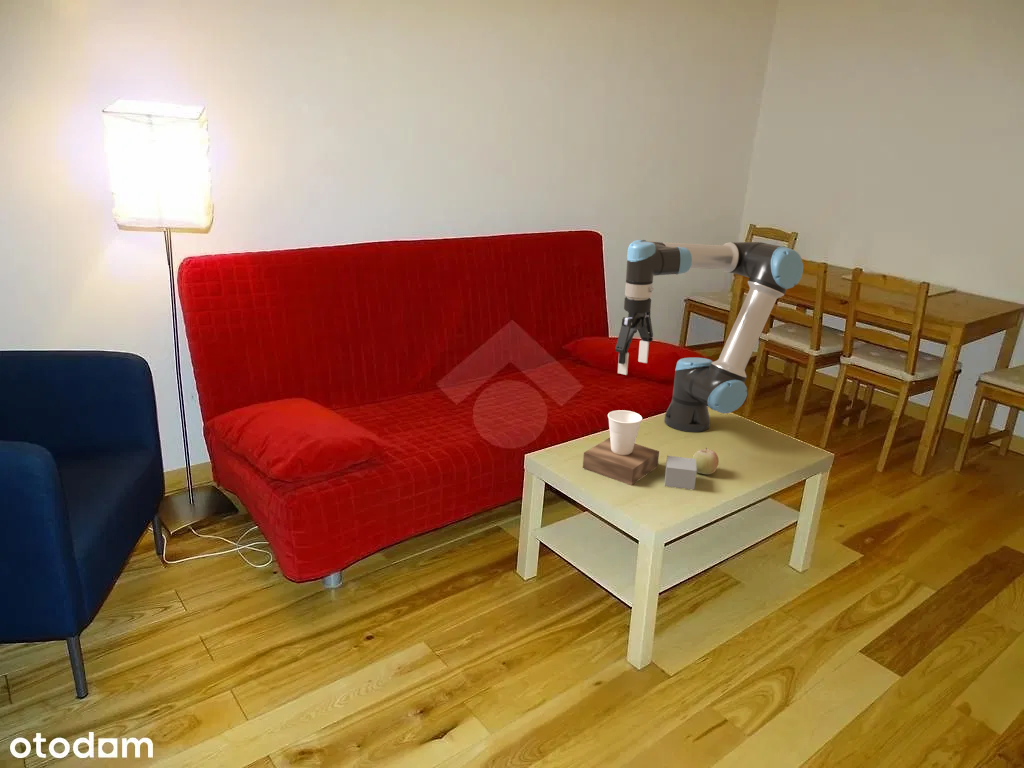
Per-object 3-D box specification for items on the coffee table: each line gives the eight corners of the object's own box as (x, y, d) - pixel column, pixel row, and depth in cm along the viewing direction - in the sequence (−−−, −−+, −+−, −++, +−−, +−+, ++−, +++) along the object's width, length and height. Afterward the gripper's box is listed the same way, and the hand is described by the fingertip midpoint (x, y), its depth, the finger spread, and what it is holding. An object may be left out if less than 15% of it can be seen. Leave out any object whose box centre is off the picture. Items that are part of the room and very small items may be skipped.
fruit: (709, 480, 204) (713, 455, 201) (686, 472, 208) (689, 447, 206) (721, 472, 209) (725, 447, 206) (699, 464, 214) (702, 439, 211)
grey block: (664, 474, 207) (667, 455, 205) (693, 477, 205) (695, 458, 203) (664, 486, 199) (667, 467, 197) (693, 490, 198) (696, 470, 196)
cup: (597, 448, 209) (600, 413, 205) (622, 441, 214) (625, 407, 211) (620, 461, 201) (624, 425, 198) (645, 453, 207) (649, 418, 203)
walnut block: (610, 451, 220) (611, 436, 218) (657, 466, 211) (659, 451, 209) (582, 468, 208) (583, 452, 206) (631, 485, 199) (633, 469, 197)
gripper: (630, 307, 192) (625, 381, 199) (668, 291, 211) (662, 359, 219) (605, 303, 196) (601, 376, 203) (644, 288, 215) (639, 355, 223)
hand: (632, 367), depth 211 cm, fingers open, 13 cm apart
